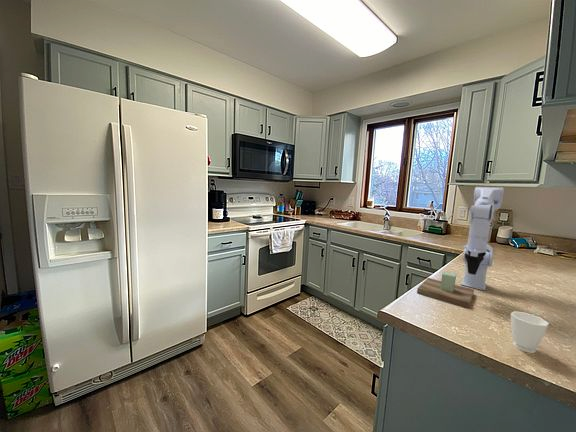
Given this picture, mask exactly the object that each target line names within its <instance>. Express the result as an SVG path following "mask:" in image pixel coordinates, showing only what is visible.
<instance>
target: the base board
mask: <svg viewBox="0 0 576 432" xmlns="http://www.w3.org/2000/svg"><path fill="white" fill-rule="evenodd" d="M440 287H441V280H439V279H434V278H430V277H427V278H426V279H425V280H424V281H423V282H422V283H421V284H420V285H419V286H418V287H417V289H416V290H417V291H416V293H417V294H420V295H422V296H423V295H424V296H426V297H429V298H432V299H437V300H439V301H443V302H445V303H449V304H453V305H456V306H459V307H462V308H467V309H469V308H470V305H471V302H472V299H473V296H474V293H475V292H474V291H475V288H471V287H467V286H463V285H457V284H455V288H454V291H453V292H450V291H446V290H442V289H440Z"/></svg>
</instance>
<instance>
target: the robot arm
mask: <svg viewBox="0 0 576 432" xmlns="http://www.w3.org/2000/svg"><path fill="white" fill-rule="evenodd" d="M504 192H505V189H504V187H502V186H501V187H492V186H491V187H490V186H489V187H486V186H483V187H482V186H476V187H475V188H474V191H473V205H471V206H470V211H469V224H470V225H469V231H468V238H467V243H466V244H465V245H463V246H462V248H463V253H462V262H463V263H465V268H464V276H463V279H462V281H461V285H460V286H463V287H467V288H471V289H477V290H480V291H485V290H486V287H487V283H486V280H487V272H488V268H491V267H492V266H493V260H494V248H493V247H492V246H491V245H489V243H488V238H489V234H490V226H491V221H492V220H493V216H494V212H495V210H496V211H497V210H498V209H500V208H501V206H502V202H503V197H504Z"/></svg>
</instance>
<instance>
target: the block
mask: <svg viewBox="0 0 576 432" xmlns="http://www.w3.org/2000/svg"><path fill="white" fill-rule="evenodd" d="M456 278H457V274H456V273H452V272H447V271H442V274H441V280H440V281H441V287H440V289H442V290H446V291H450V292H453V291H454V288H455V285H456V280H457V279H456Z"/></svg>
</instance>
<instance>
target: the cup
mask: <svg viewBox="0 0 576 432" xmlns="http://www.w3.org/2000/svg"><path fill="white" fill-rule="evenodd" d="M549 324H550V323H549V322H547V321H546V320H545V319H543V318H542V317H540V316H538V315H537V316H536V315H533V314H531V313H528V312H523V311H517V310H514V311H512V312H511V313H510V326H511V327H510V330H511V331H510V332H511V337H512V341H513V342H512V345H513V346H514V347H515V348H517V349H519V350H520V351H523V352H525V353H528V354H529V353H530V354H535V353H536V352H537V348H538V347H539V345H540V344H541V342H542V341H543V338H544V335H545V334H546V331H547V329H548V326H549Z"/></svg>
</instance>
